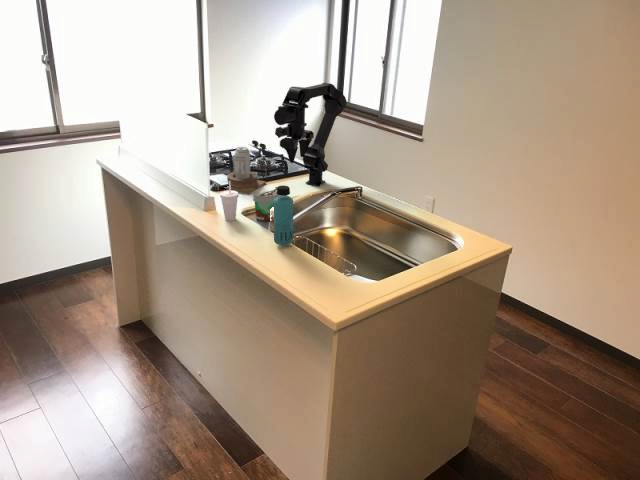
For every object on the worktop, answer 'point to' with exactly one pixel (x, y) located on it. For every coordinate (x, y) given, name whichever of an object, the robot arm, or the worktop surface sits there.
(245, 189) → the brown round bowl
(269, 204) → the food container
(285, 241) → the beverage bottle
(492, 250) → the worktop surface
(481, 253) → the worktop surface
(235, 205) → the smoothie
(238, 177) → the energy drink can
